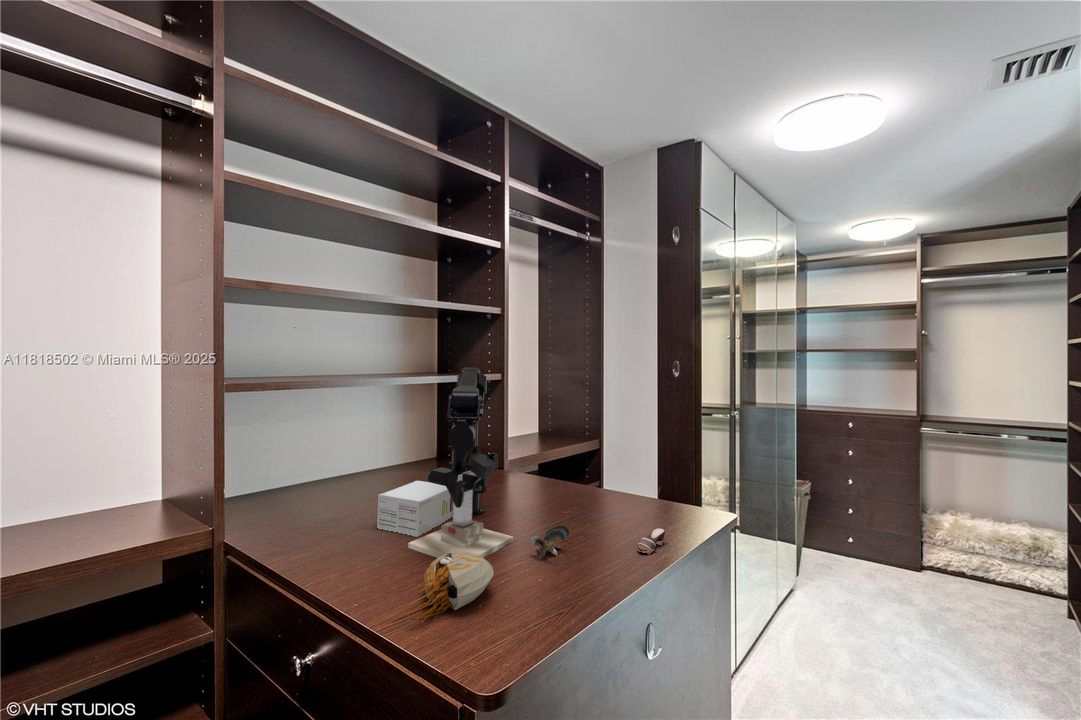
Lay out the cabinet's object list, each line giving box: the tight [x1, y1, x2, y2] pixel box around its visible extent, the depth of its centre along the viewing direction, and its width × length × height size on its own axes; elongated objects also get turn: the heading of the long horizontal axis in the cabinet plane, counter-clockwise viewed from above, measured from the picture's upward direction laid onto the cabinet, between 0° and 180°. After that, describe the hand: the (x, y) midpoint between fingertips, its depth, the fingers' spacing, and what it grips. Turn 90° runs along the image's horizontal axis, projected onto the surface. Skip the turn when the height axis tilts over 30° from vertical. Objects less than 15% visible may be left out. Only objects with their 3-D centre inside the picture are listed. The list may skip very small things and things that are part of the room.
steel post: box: [452, 487, 473, 529], centre depth 120 cm, size 4×4×12 cm
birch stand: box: [407, 519, 514, 559], centre depth 120 cm, size 18×18×5 cm
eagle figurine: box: [529, 524, 571, 560], centre depth 116 cm, size 8×7×9 cm
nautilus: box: [403, 551, 494, 624], centre depth 93 cm, size 8×22×15 cm
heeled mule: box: [636, 527, 666, 551], centre depth 121 cm, size 4×11×4 cm, turn 137°
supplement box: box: [376, 480, 454, 538], centre depth 135 cm, size 17×13×9 cm
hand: (462, 505), depth 120 cm, fingers closed on steel post, 3 cm apart
